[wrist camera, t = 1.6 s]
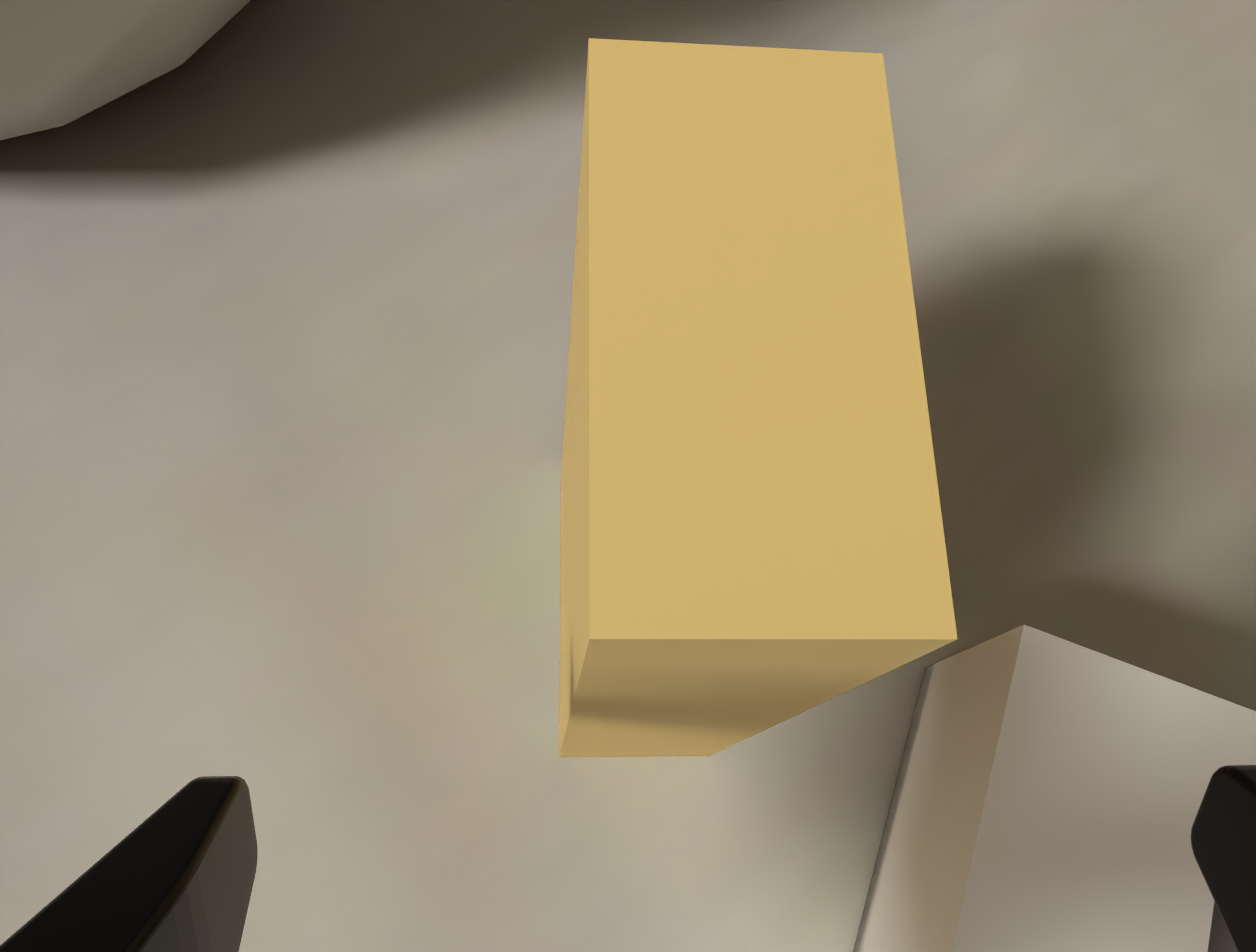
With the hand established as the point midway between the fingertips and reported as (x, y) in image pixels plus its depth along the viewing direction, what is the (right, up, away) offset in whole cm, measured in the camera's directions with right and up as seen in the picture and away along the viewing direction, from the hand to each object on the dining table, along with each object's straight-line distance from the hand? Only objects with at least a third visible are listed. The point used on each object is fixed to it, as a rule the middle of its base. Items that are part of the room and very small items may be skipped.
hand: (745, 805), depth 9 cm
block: (-1, 0, +12) cm, 12 cm away
